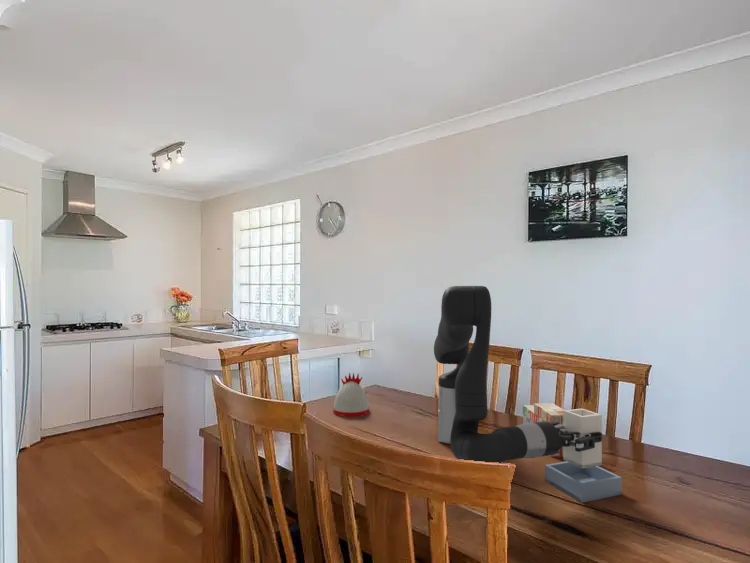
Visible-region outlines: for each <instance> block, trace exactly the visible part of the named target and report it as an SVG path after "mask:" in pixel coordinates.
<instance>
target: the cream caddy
mask: <svg viewBox="0 0 750 563" xmlns="http://www.w3.org/2000/svg"><path fill="white" fill-rule="evenodd" d="M602 416H603V415H602V414H600V413H597V412H594V411H591V410H588V409H586V408H576V409H567V410H565V409H564V411H563V425H564V429H566V430H572V431H579V432H580V433H593V432H601V433H602V434H603V431H602V429H603V427H602V426H603V424H602V422H603V417H602ZM573 435H574V441H575V439H576V434H573ZM581 438H583V437H581ZM602 456H603V440H602V441H601V442H596V443H595V448H592V449H588V450H584V451H580V452H577V451H575V447H567V448H566V447H563V457H562V458H563V460H564V461H568V462H570V463H572V464H574V465H576V466H578V467H580V468H582V469H583V468H588V467H594V466H599V467H601V466H603V457H602Z"/></svg>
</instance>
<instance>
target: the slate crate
mask: <svg viewBox="0 0 750 563" xmlns="http://www.w3.org/2000/svg"><path fill="white" fill-rule="evenodd" d="M622 479H623V478H622V477H621V476H619V475H618V474H615V473H613V472H611V471H609V470H607V469H605V468H604V467H601V466H594V467H588V468H583V469H582V468H580V467H578V466H576V465H574V464H572V463H570V462H568V461H566V460H564V461H561V462H554V463H549V464H544V482H546V483H548V484H550V485H551V486H553V487H555V488H556V489H557V490H560V491H561V492H563V493H564V494H566V495H568V496H570V497H571V498H573V499H575V500H576V501H577V502H579V503H586V502H591V501H597V500H602V499H605V498H606V499H607V498H611V497H616V496H621V495H623V491H622V486H623V485H622V484H623V482H622V481H623V480H622Z"/></svg>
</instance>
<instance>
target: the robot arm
mask: <svg viewBox="0 0 750 563" xmlns="http://www.w3.org/2000/svg"><path fill="white" fill-rule="evenodd" d="M441 297H442V298H441V306H440V307H441V310H440V311H441V313H440V315H441V316H440V321H439V324H438V330H437V336H436V337H435V341H434V344H433V354H434V358H435V360H436V361H437V362H438V363H439V364H442V365H457V366H456V367H455V368H454V369H452V370H451V371H447V372H446V373H443V374H441V375H439V377H438V410H437V412H438V414H437V415H438V416H437V420H438V421H437V422H438V423H437V428H438V430H437V432H438V433H437V434H438V435H437V438H438V439H437V440H438V442H439V443H444V444H448V445H450V448H451V452H452V454H453V456H454V457H455V458H456V460H458V459H464V460H474V461H485V462H499V463H500V464H502V463H504V462H506V461H512V460H513V461H514V460H519V459H520V460H521V459H534V458H541V457H542V458H543V457H547V456H549V455H554V454H556V453H557V452H558V451H559V449H560V448H561V447H566V448H567V447H575V451H577V452H580V451H584V450H588V449H592V448H595V443H596V442H601V441H602V442H603V432H602V433H601V432H593V433H580V432H579V431H572V430H566V429H564V425H563V424H560V423H559V422H551V423H550V422H547V421H543V422H535V423H526V424H523V423H521V424H517V425H512V426H506V427H503V426H502V427H498V428H496V429H494V430H493V431H491V433H490V432H489V433H480V432H479V431H478V430H479V425H480V422H481V421H483V420H485V419H486V418H487V416H488V390H487V388H488V387H487V384H488V382H487V379H488V377H487V376H488V362H489V351H490V340H491V339H490V338H491V327H492V326H491V324H492V297H491V293H490V291H489V289H488V288H487V286H484V285H453V286H449V287H447V288H446V289H445V290H444V291H443V295H442V296H441ZM474 327H476V328H475V329H476V330H475V337H474V341H473V344H472V347H471V348H470V340H471V338H472V337H473V333H474ZM573 434H576V439H575V441H574V435H573ZM581 437H583V438H581Z"/></svg>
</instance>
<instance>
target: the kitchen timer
mask: <svg viewBox="0 0 750 563" xmlns="http://www.w3.org/2000/svg"><path fill="white" fill-rule="evenodd" d="M359 375H360V374H359V373H357V374H356V378H355V373H354V372H352V376H351V373H350V372H349V373H348V377H347V375H345V376H344V378H345V379H343V378H340V380H341V383H342V384H343V385H341V386H340V388H339V390H338V391H337V392H336V393H337V394H336V396H335V398H334V402H333V410H332V411H333V414H334V413H335V414H334V415H336V414H337V415H336V416H339V415H340V416H339V417H344V416H347V417H348V418H353V417H354V418H356V416H357V417H361V416H362V415H363V416H366V415H369V413H370V403H369V399H368V396H367V395H368V393H367V392H366V391H365V389H364V387H363V386H362V385H361V384H360V383H361V382H362V379H363V376H361V377H360V376H359ZM344 380H345V381H344ZM365 414H366V415H365ZM363 416H362V417H363Z"/></svg>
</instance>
